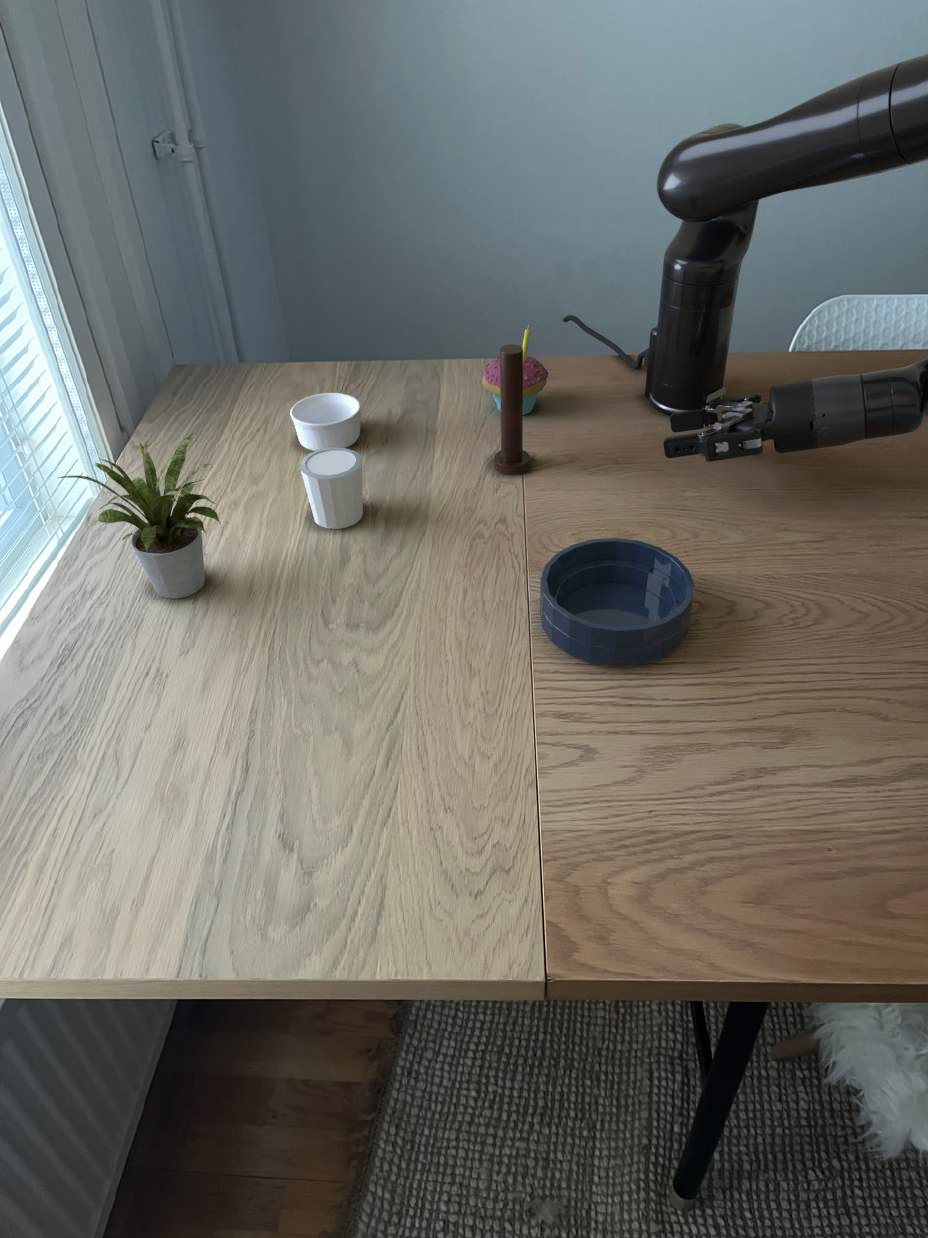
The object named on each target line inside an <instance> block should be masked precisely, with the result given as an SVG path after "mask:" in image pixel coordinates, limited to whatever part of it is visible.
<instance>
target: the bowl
mask: <svg viewBox="0 0 928 1238" xmlns="http://www.w3.org/2000/svg"><path fill="white" fill-rule="evenodd" d="M539 585H540V588H539V590H540V592H539V617H540V623H541V628H542V630H543V632H544V634H546V636H547V638H548V639H549V640H550V642H551V643H552V644H553V645H555V646H556V647H557V648H559V649H560V650H561V651H563V652H564V653H566V654H567V655H569V656H570V657H573V658H576V659H579V660H581V661H583V662H586V663H589V664H592V665H593V664H594V665H600V666H606V667H613V668H620V667H621V668H623V667H638V666H643V665H645V664H650V663H652V662H656V661H659V660H662V659H664V658H665V657H667V656H668V655H670V654H672V653H673V652H675V651H676V650H677V649H679V647H680V645H681V644H682V642H684V640H685V639H686V637H687V636H688V631H689V626H690V625H689V624H690V618H691V612H692V606H693V599H694V592H695V586H696V585H695V582H694V579H693V577H692V575H691V572H690V570H689V568H688V567H686V565H685V564H684V563H683V562H682V561H681V560H680V559H679V558H678V557H677V556H676V555H674V554H672V553H671V552H669V551H667V550H665V549H663V548H662V547H660V546H657V545H654V544H651V543H647V542H644V541H641V540H637V539H629V538H623V537H622V538H621V537H607V538H593V539H592V538H591V539H589V540H584V541H580V542H577V543H573V544H571V545H569V546H568V547H565V548H564V549H561V550H560V551H558V552H556V553H555V554H554V555H553V556H552V557H551V558H550V559H549V561H547V563H545V565H544V567H543V570H542V573H541V575H540V584H539Z"/></svg>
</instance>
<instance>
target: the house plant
mask: <svg viewBox="0 0 928 1238" xmlns="http://www.w3.org/2000/svg"><path fill="white" fill-rule="evenodd" d="M194 434H195V432H193V433H191V434H189V435H188V436H186V437H185V438H184V439H183V440H182V441H181V442H180V444H179V445H178V447H177V448H176V450H175V452H174V454H173V456H172V457H171V458H170V459H168V461H166V463H164V465H163V466H162V468H161V469H160V471H159V473H158V474H157V470H156V467H155V463H154V461H153V459H152V456H151V455H150V453H149V451H148V440H146V441H145V444H144V445H143V444H142V443H141V442H139V448H140V452H141V454H142V463H143V470H144V477H145V478H144V479H145V480H144V479H143V478H141V477H135V478H133V479H131V478H130V477H129V476H128V474H127V473H126V471H125V470H124V469H123V468H122V467H121V466H120V465H118V464H116V463H115V462H113V461H110V460H107V459H101V458H99V460H100V461H103V462H106V463H108V464H109V465H111V466H113V468H115V469H116V470H117V471H118V472H119V473H118V472H116V471H115V470H114V469H113V468H110V467H109V466H108V465H105V464H103V463H98V462H93V465H94V466H96V467H97V468H98V469H99V470H100V471H102V472H104V473H106V474H107V476H108V477H109V478H110V479H111V480H112V481H113V482H115V483H117V484H118V485H119V486H120V487H122V488H123V489H124V491H126V492H127V494H122V495H121V494H120V493H118V492H116V491H115V490H114V489H112V488H111V487H109V486H108V485H107V484H104V483H103V482H101V481H99V480H98V479H94V478H92V477H91V476H85V475H64V476H60V477H58V479H68V478H70V479H73V478H74V479H75V478H76V479H83V480H88V481H91V482H93V483H96V484H98V485H100V486H102V487H103V488H105V489H106V490H108V491H109V492H111V493H112V494H114V495H115V496H113V497H112V498H111V499H110V500H108V501H107V503H105V504H103V505H102V506H100V508H99V509H98V511H100V510H101V509H103V508H105V507H107V506H108V505H114V506H117V507H118V508H120V509H122V510H124V511H121V510H117V509H112V508H111V509H110V508H109V509H105V510H103V511H102V512H101V513H99V515H98V517H97V518H96V521H95V522H96V523H97V522H100V523H103V524H102V526H104V525H108V524H114V523H125V522H126V523H128V524H130V525H133V526H135V527H136V529H135V531H134V532H132V533H127V534H126V535H124V536H123V537H122V539H121V540H120V542H122V541H124V540H126V539H127V538H129V537H130V536H131V537H130V547H131V548H132V550H133V551H134V554H135V555H136V557H137V559H138V561H139V563H140V564H141V567H142V569H143V571H144V572H145V575H146V576H147V577H148V580H149V581H150V583H151V585H152V586H153V589H154V590H155V592H156V594H157V595H158V596H160V597H162V598H165V599H174V600H175V599H182V598H186V597H189V596H191V595H193V594H196V593H198V591H199V590H200V589H202V588H203V586H204V584H205V581H206V579H205V563H204V546H203V532H204V533H205V534H207V531H206V530H205V526H204V522H203V521H202V520H201V519H200V518H199V517H198V516H192V517H191V516H190V517H189V516H188V515H189V514H197V515H201V516H204V517H207V518H210V519H214V520H215V521H217V522H218V523H219V524H220V525H221V522H220V519H219V516H218V513H217V512H216V511H215V509H214V508H211V507H209V506H203V505H202V506H200V505H199V506H193V505H194V504H195V503H196V502H197V501H200V500H206V501H207V502H210V503H212V504H214V505H216V503H215V502H214V500H212V499H210V498H209V497H208V496H206V495H204V494H198V493H192V492H193V489H194V488H195V486H196V485H197V482H198V483H199V482H201V481H204V480H205V478H203V479H198V480H194V481H193V480H192V481H190V480H191V478H192V477H193V476H194V475H195V474H196V473H197V472H199V471H201V470H202V469H204V468H206V467H208V466H210V465H211V463H204V464H200V465H199V466H197V467H196V468H194V469H193V470H192V471H190V473H189V474H188V475H187V477H186V478H184V480H183V481H182V484H180V486H178V487H177V484H178V481H179V477H180V474H181V472H182V469H183V466H184V465H185V461H186V458H187V457H186V456H187V448H188V447H189V444H190V443H191V440H192V438H193V436H194ZM166 469H167V470H166ZM165 470H166V472H165ZM164 473H165V476H164V489H163V490H164V491H163V494H162V495H161V489H160V482H161V479H162V476H163V474H164ZM157 475H158V476H157ZM118 498H120V499H122V501H124V502H126V503H127V504H128V505H130V506H131V507H132V508H133V509H135V510H136V511H137V513H139V514H140V515H141V516H143V518H144V519H145V520H146V521H145V520H143V518H141V517H140V516H139V515H138V514H137V513H135V512H134V511H133V510H131V509H130V507H129V506H126V505H124V504H122V503H119V502H114V501H116V500H117V499H118ZM130 501H131V502H132V503H131V502H130ZM134 504H135V505H136V506H137V507H138V508H137V507H136V506H135V505H134ZM174 504H175V505H174Z"/></svg>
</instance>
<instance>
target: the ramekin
mask: <svg viewBox="0 0 928 1238" xmlns="http://www.w3.org/2000/svg"><path fill="white" fill-rule="evenodd" d="M289 413H290V418H291V420H292V422H293V424H294V427H295V432H296V435H297V437H298V441H299V443H300V445H301V446H302V447H303V448H305V449H307V450H310V451H312V452H315V451H317V450H320V449H326V448H332V447H334V448H346V449H348V448H349V447H351V446H352V445H353V444H355V443H356V442H357V440H358V439H359V437H360V435H361V416H360V415H361V403H360V401H359V400H358V399H357V398H356V397H354V396H352V395H349V394H346V393H341V392H323V393H316V394H312V395H309V396H306V397H304V398H302V399H300V400H298V401H297V402H296V403H294V405H292V407H291V408H290V411H289Z"/></svg>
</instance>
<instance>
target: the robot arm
mask: <svg viewBox="0 0 928 1238" xmlns="http://www.w3.org/2000/svg"><path fill="white" fill-rule="evenodd" d="M927 161H928V53H925V54H923V55H918V56H915V57H912V58H909V59H906V60H903V61H900V62H897V63H894V64H890V65H888V66H885V67H883V68H880V69H877V70H874V71H871V72H869V73H865V74H863V75H860V76H859V77H855V78H853V79H851V80H849V81H847V82H844V83H842V84H840V85H837V86H835V87H832V88H830V89H829V90H827V91H824V92H822V93H820V94H818V95H816V96H814V97H811V98H810V99H808V100H807V99H806V100H805V101H804V102H802V103H800V104H797V105H796V106H793V107H792V108H789V109H787V110H785V111H783V112H782V113H780V114H777V115H775V116H773V117H771V118H768V119H765V120H763V121H760V122H756V123H754V124H750V125H747V126H743V125H741V124H738V123H732V122H728V123H720V124H716V125H714V126H712V127H711V126H710V127H709V128H707V129H704V130H701V131H699V132H696V133H694V134H692V135H690V136H687V137H685V138H683V139H681V140H680V141H679V142H678V143H677V144H675V145H674V147H673V148H671V150H670V151H669V152H668V153H667V154H666V155H665V157H664V159H663V161H662V163H661V164H660V167H659V170H658V173H657V177H656V192H657V195H658V198H659V201H660V203H661V205H662V206H663V207H664V209H665V210H666V211H667V212H668V213H669V214H671V215H672V216H673V217H675V218H677V219H679V220H681V224H680V227H679V228H678V230H677V232H676V234H675V235H674V237H673V238H672V240H671V241H670V242H669V244H668V245H667V247H666V250H665V251H664V256H663V264H662V273H661V274H662V275H661V284H660V285H661V286H660V295H659V296H660V297H659V305H658V314H657V325H656V326H654V327H653V328H652V329H650V334H649V344H648V348H646V349H644V351H641V352H640V353H639V354H638V355H637V358H636V362H635V361H633V360H632V359H631V358H630V357H629V356H628V355H627V354H626V353H625V352H624V351H623V350H622V348H621V347H620V346H618V345H617V344H616V343H614V342H613V341H612V340H610V339H609V338H607V337H605V336H604V335H602V334H601V333H599V332H597V331H595V330H593V329H592V328H591V327H589V326H588V325H586V324H585V323H584V322H583V321H582V320H581V319H580V318H579V317H577V316H575V315H573V314H568V315H566V316H565V317H564V318H563V319H562V323H567V322H569V321H571V322H573V323H575V325H577V326H578V327H579V328H580V329H581V330H582V331H584V332H585V333H586V334H587V335H590V336H591V337H592V338H594V339H596V340H598V341H599V342H601V343H603V344H604V345H606V347H609V348H610V349H611V350H613V351H614V352H615V353H616V354H617V355H618V356H619V357H620V358H621V359H622V360H623V361H624V362H625V363H627V365H628V366H629V367H631V368H633V369H635V370H639V369H641V368H642V366H643V368H645V369H646V375H645V385H644V386H645V388H644V397H645V398H647V399H648V400H649V403H650V405H651V406H652V407H653V408H654V409H656V410H658V411H659V412H662V413H664V414H666V415H670V416H669V423H670V430H671V432H672V433H683V432H690V431H696V430H703V429H704V428H705V429H707V430H704V431H701V432H699V433H698V432H695V433H689V434H680V435H674V436H668V437H665V438H664V439H663V451H664V456H665V457H666V458H667V459H674V458H681V457H689V456H696V455H700V456H701V457H703V458H704V457H705V462H709V463H711V462H718V461H722V460H731V459H737V458H742V457H750V456H755V455H760V454H762V453H764V449H763V448H764V447H763V446H764V445H763V444H764V443H763V442H767V441H769V440H771V441H773V446H774V451H775V452H776V453H777V454H787V453H794V452H803V451H808V450H816V449H823V448H831V447H838V446H843V445H849V444H852V443H854V442H855V443H856V442H860V441H864V440H872V439H873V440H874V439H880V438H888V437H894V436H899V435H905V434H910V433H912V432H915V431H916V430H918V429H920V427H921V426H922V424H923V422H924V420H925V418H926V417H928V357H927V358H924V359H922V360H919V361H916V362H914V363H912V364H909V365H906V366H904V367H897V368H896V367H895V368H889V369H882V370H876V371H868V372H863V373H856V374H855V373H854V374H837V375H830V376H829V375H827V376H823V377H818V378H810V379H804V380H803V379H802V380H797V381H791V382H785V383H779V384H773V385H771V386H770V388H769V390H768V391H769V402H763V401H762V394H761V393H757V392H756V393H755V392H754V393H751V394H743V395H737V396H730V397H723V395H725V394H726V391H727V386H724V382H725V375H726V369H727V362H728V356H729V355H728V354H729V350H730V349H729V348H730V341H731V334H732V330H733V329H732V328H733V321H734V320H733V319H734V315H735V309H736V308H735V307H736V303H737V302H736V301H737V295H738V286H739V280H740V274H741V268H742V264H743V260H744V258H745V256H746V255H747V252H748V251H749V249H750V245H751V243H752V239H753V234H754V229H755V224H756V219H757V214H758V209H759V204H760V203H759V202H760V200H763V199H766V198H769V197H772V196H775V195H779V194H782V193H787V192H792V191H798V190H803V189H809V188H810V189H811V188H815V187H823V186H826V185H833V184H838V183H842V182H846V181H852V180H855V179H856V180H857V179H860V178H864V177H865V178H866V177H869V176H874V175H879V174H883V173H887V172H890V171H894V170H897V169H901V168H905V167H909V166H911V165H917V164H920V163H924V162H927Z"/></svg>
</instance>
